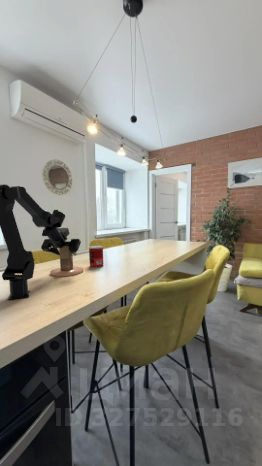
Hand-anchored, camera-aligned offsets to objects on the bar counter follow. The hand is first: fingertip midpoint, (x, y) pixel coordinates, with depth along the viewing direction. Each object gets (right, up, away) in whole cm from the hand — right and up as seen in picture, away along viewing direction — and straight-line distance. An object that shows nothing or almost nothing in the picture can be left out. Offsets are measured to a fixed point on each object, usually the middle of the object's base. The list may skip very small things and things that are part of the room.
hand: (67, 254), depth 113 cm
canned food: (+13, -8, +13) cm, 20 cm away
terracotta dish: (0, -9, -1) cm, 9 cm away
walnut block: (0, -8, -1) cm, 8 cm away
